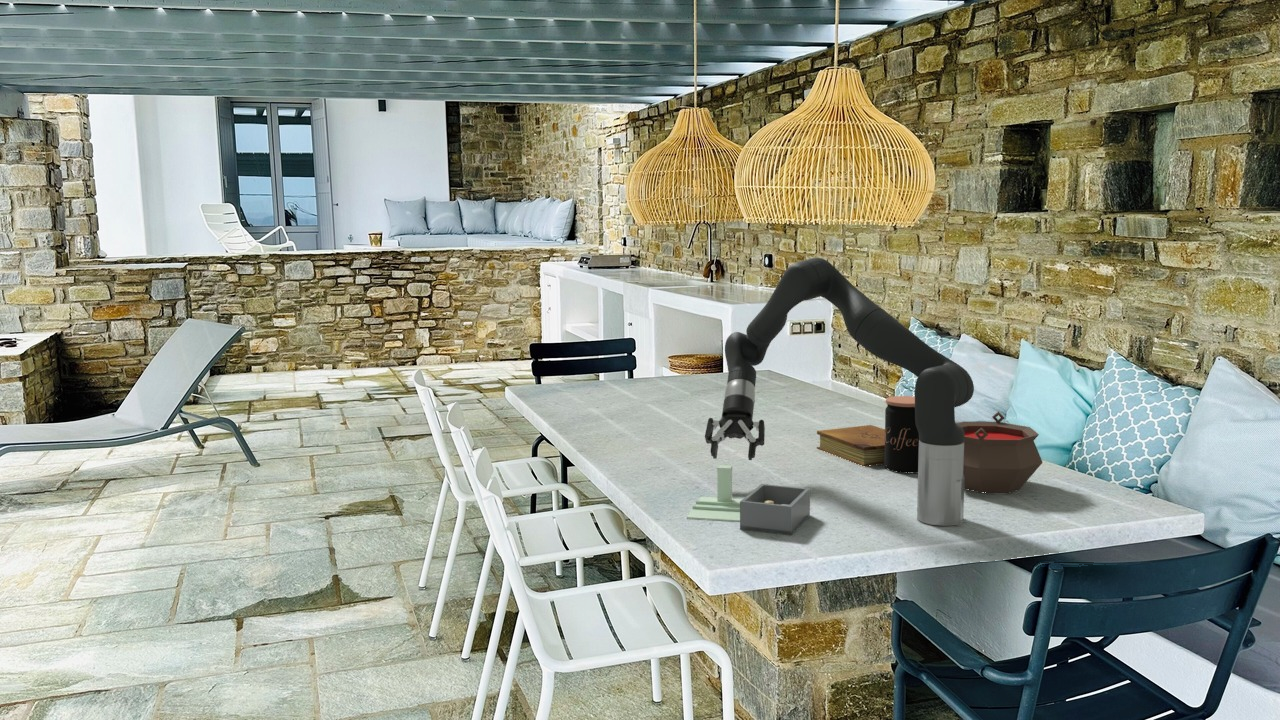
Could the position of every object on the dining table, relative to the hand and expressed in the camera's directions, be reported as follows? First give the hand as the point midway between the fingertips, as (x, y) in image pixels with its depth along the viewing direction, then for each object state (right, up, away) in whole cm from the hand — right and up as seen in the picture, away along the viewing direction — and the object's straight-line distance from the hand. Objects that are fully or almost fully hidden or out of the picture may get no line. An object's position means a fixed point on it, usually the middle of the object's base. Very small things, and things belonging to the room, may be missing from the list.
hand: (732, 457), depth 241 cm
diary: (+40, -3, +35) cm, 54 cm away
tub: (+7, -11, -25) cm, 28 cm away
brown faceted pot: (+61, -7, +1) cm, 62 cm away
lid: (-4, -11, -15) cm, 19 cm away
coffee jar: (+46, -5, +18) cm, 50 cm away
